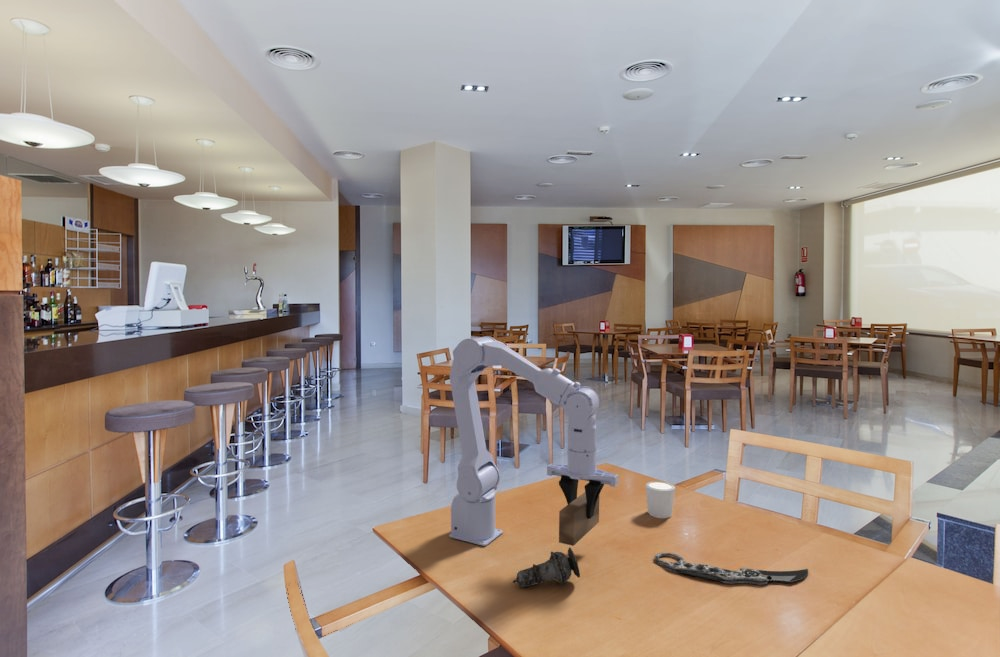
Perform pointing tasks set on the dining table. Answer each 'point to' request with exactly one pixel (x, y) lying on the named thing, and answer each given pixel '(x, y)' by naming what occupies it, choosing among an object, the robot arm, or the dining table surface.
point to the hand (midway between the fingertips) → (581, 515)
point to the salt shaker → (549, 570)
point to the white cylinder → (660, 499)
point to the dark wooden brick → (576, 520)
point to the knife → (728, 572)
